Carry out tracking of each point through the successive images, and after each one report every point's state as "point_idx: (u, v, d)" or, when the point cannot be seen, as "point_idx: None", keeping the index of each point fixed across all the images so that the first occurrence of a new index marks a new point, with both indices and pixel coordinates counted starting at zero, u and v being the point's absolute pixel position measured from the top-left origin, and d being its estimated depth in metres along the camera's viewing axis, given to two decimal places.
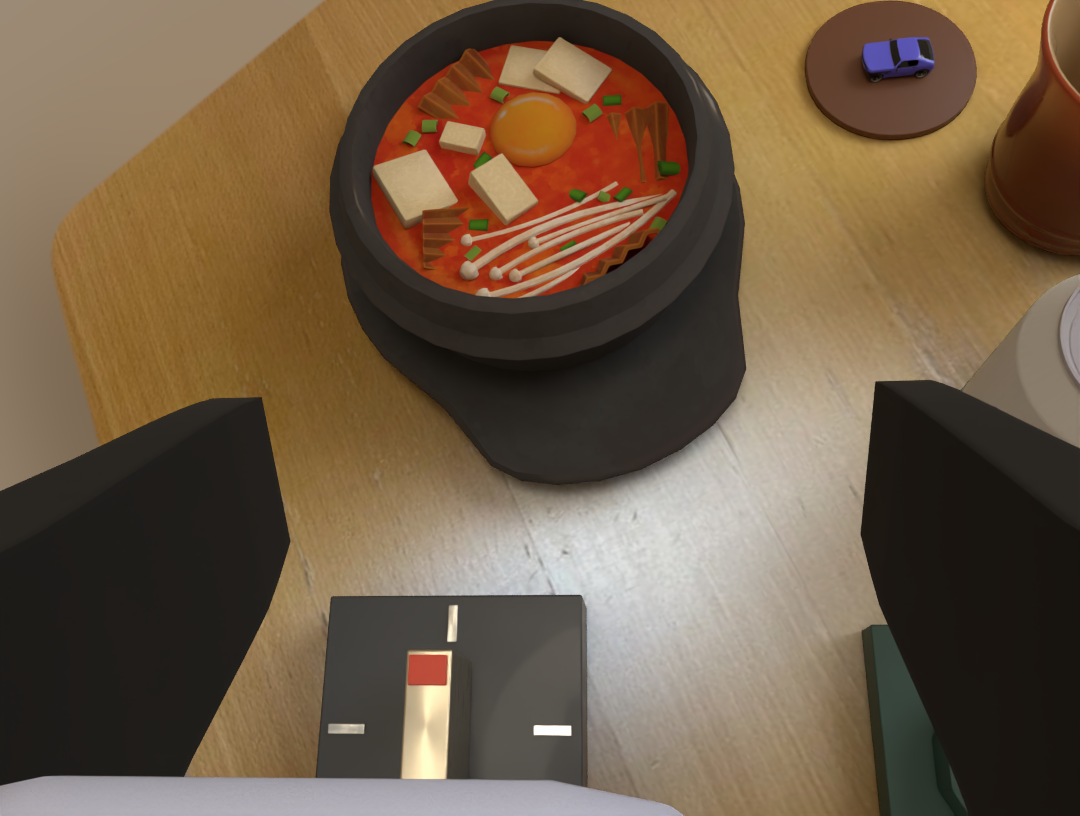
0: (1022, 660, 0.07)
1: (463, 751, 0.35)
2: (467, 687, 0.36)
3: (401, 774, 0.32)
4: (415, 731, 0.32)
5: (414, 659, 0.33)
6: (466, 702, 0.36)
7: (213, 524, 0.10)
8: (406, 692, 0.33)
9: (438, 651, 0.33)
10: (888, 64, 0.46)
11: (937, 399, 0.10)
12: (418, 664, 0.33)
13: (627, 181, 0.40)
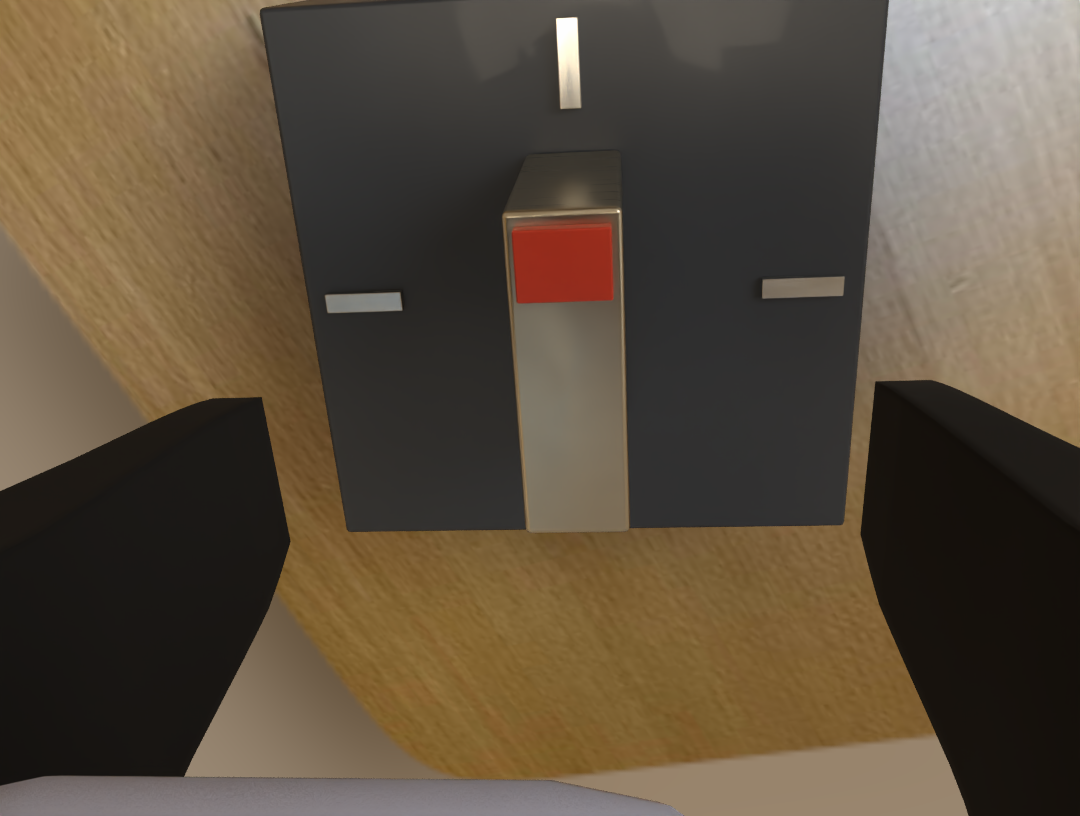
0: (1022, 660, 0.07)
1: None
2: None
3: (524, 479, 0.14)
4: (547, 398, 0.14)
5: (525, 240, 0.13)
6: None
7: (213, 524, 0.10)
8: (513, 314, 0.13)
9: (585, 213, 0.13)
10: None
11: (937, 399, 0.10)
12: (540, 255, 0.13)
13: None
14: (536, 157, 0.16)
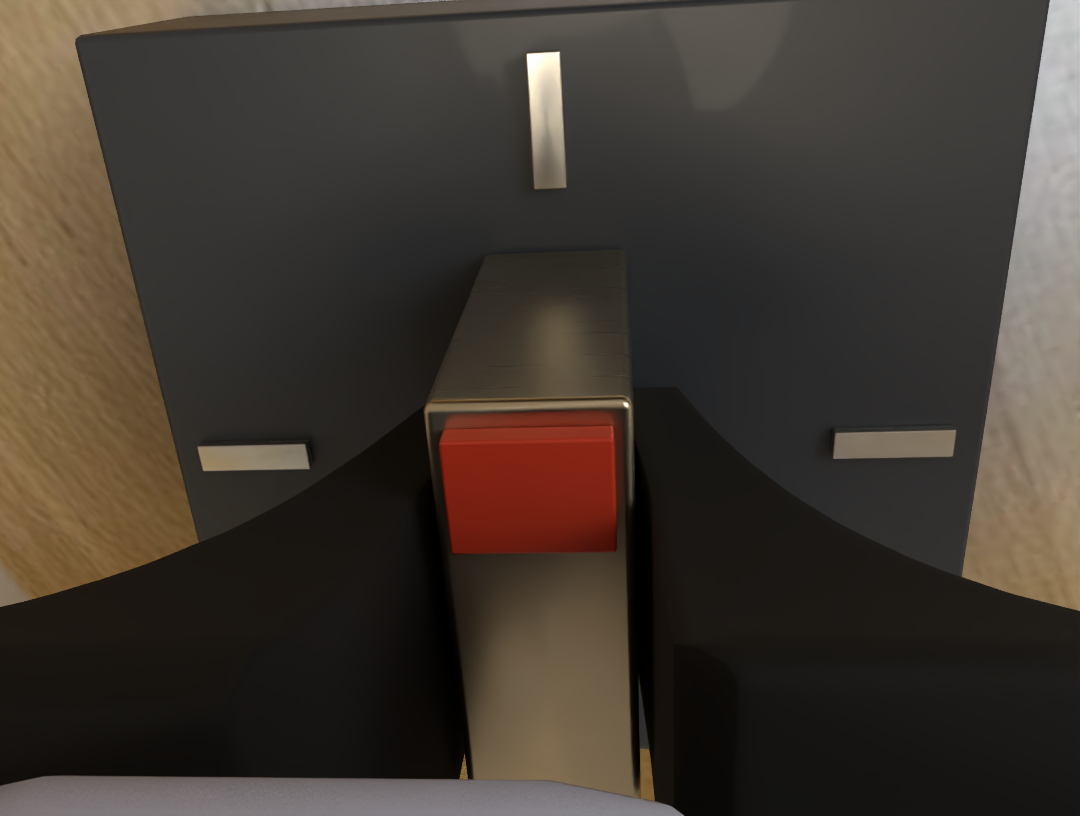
0: (655, 661, 0.08)
1: None
2: None
3: None
4: (507, 684, 0.08)
5: (464, 454, 0.07)
6: None
7: None
8: (448, 560, 0.08)
9: (568, 409, 0.07)
10: None
11: (654, 406, 0.10)
12: (489, 480, 0.07)
13: None
14: (499, 261, 0.11)
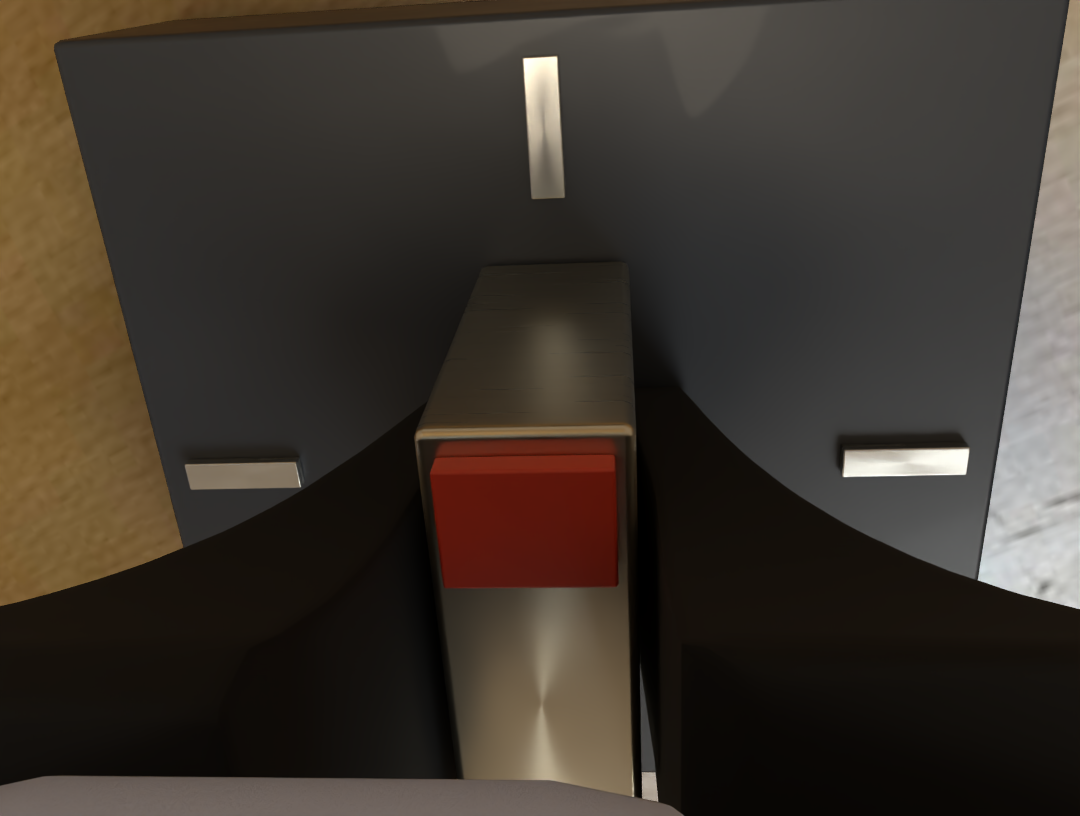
0: (660, 661, 0.08)
1: None
2: None
3: None
4: (503, 721, 0.08)
5: (457, 484, 0.07)
6: None
7: None
8: (441, 593, 0.08)
9: (567, 437, 0.07)
10: None
11: (657, 406, 0.10)
12: (482, 512, 0.07)
13: None
14: (496, 274, 0.10)
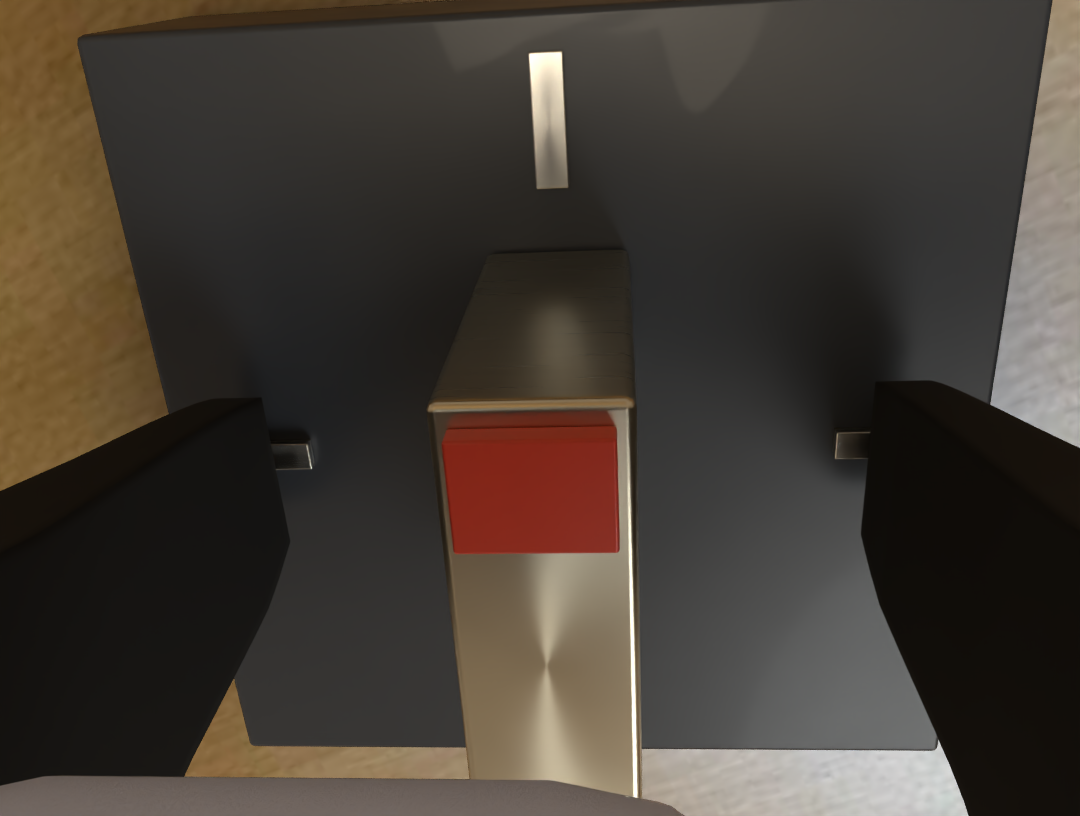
0: (1022, 661, 0.07)
1: None
2: None
3: None
4: (510, 684, 0.08)
5: (467, 454, 0.07)
6: None
7: (213, 524, 0.10)
8: (451, 560, 0.08)
9: (572, 409, 0.07)
10: None
11: (937, 399, 0.10)
12: (491, 480, 0.07)
13: None
14: (501, 261, 0.11)
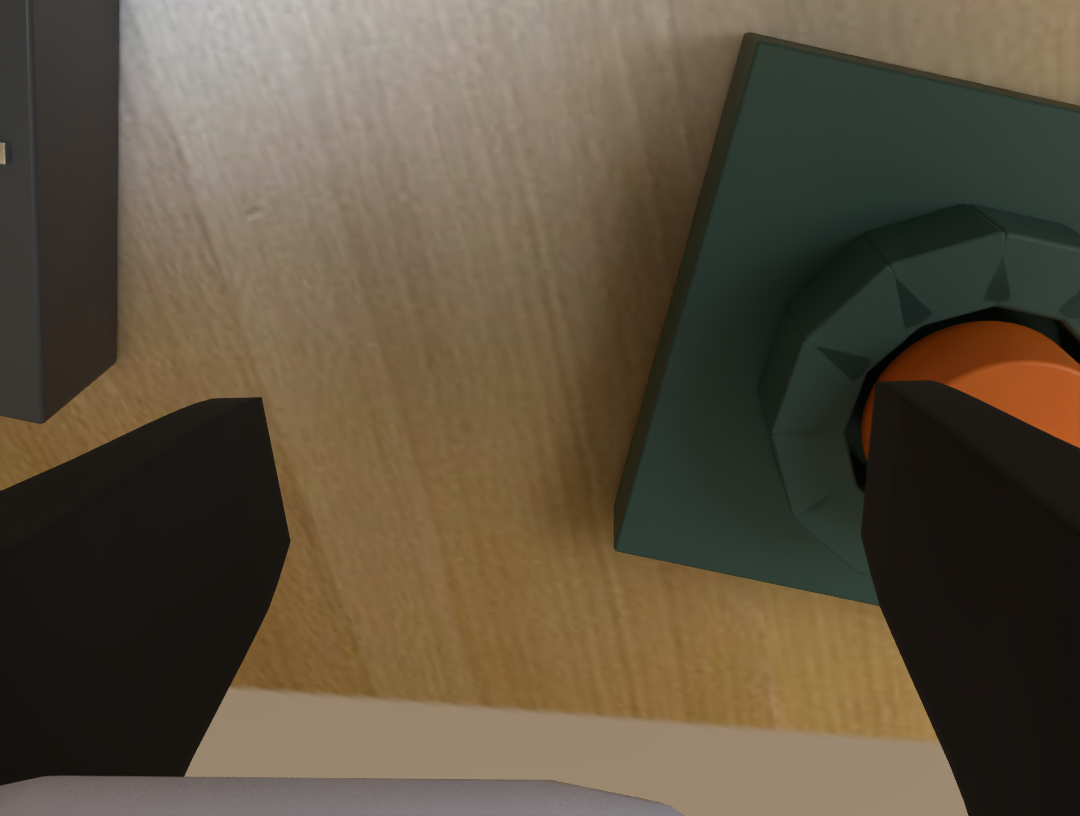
0: (1022, 660, 0.07)
1: None
2: None
3: None
4: None
5: None
6: None
7: (213, 524, 0.10)
8: None
9: None
10: None
11: (937, 399, 0.10)
12: None
13: None
14: None
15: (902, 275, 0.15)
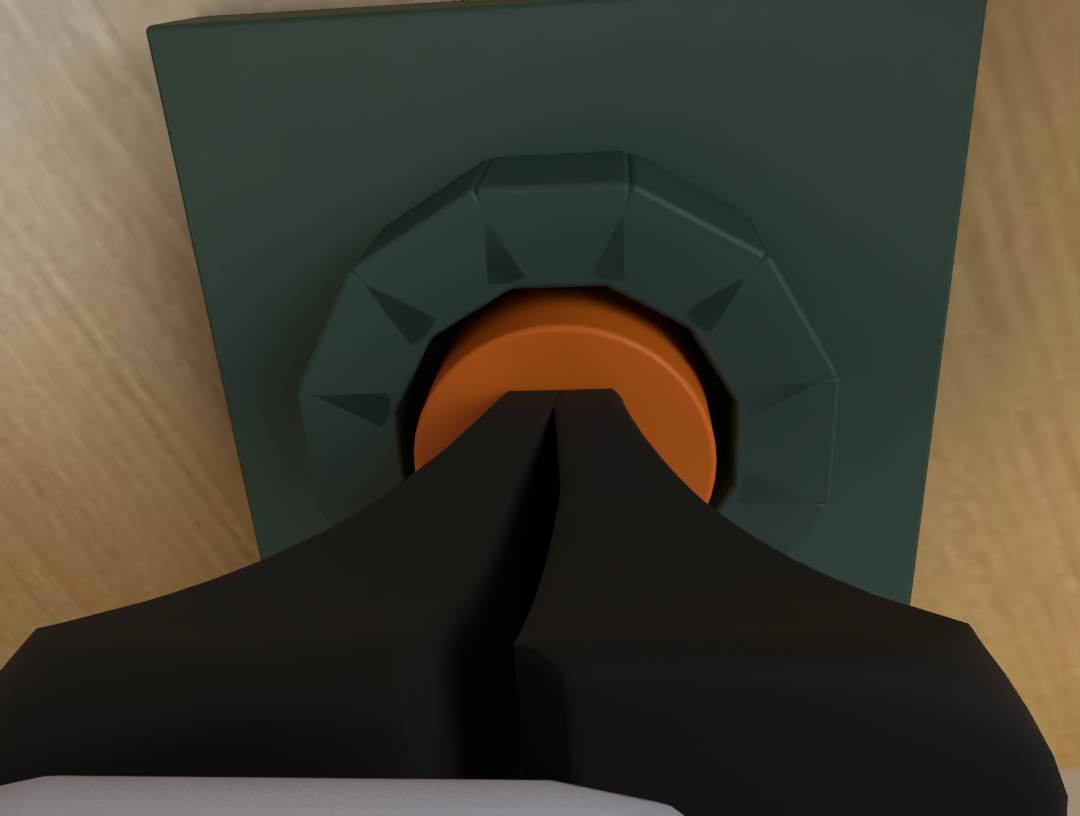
0: None
1: None
2: None
3: None
4: None
5: None
6: None
7: (548, 519, 0.10)
8: None
9: None
10: None
11: (583, 408, 0.10)
12: None
13: None
14: None
15: (372, 280, 0.11)
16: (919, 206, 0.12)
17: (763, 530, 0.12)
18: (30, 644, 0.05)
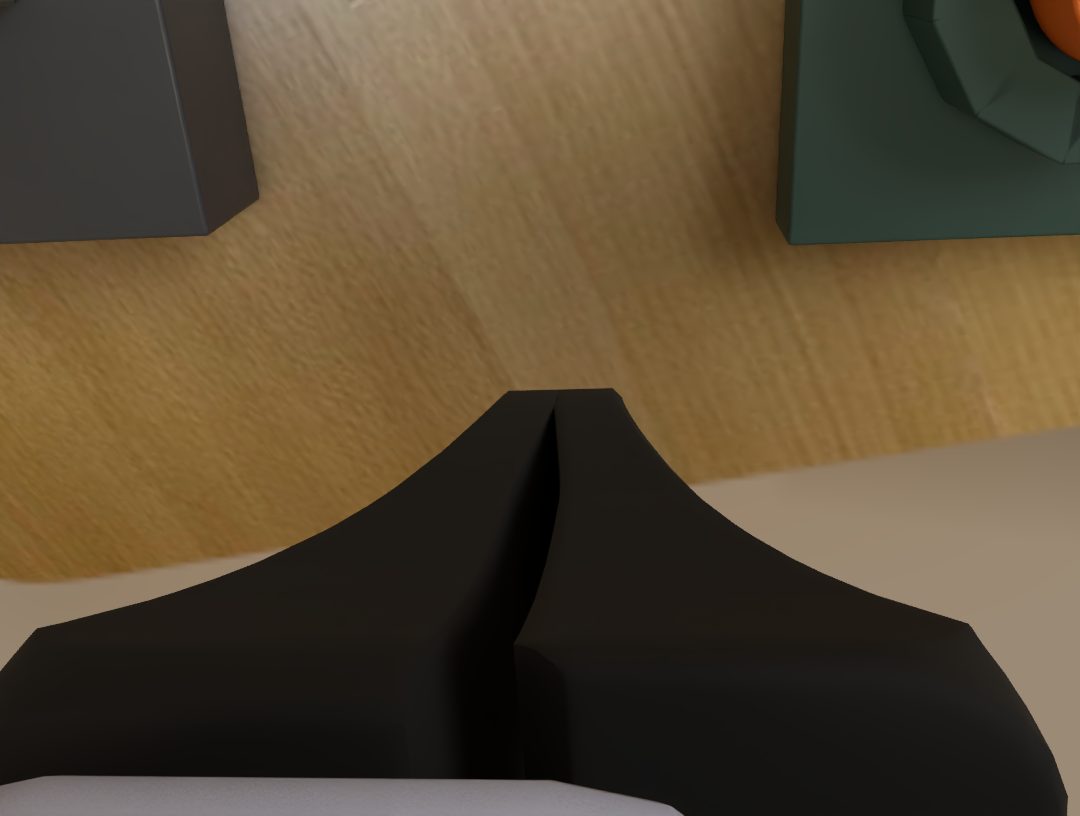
0: None
1: None
2: None
3: None
4: None
5: None
6: None
7: (548, 519, 0.10)
8: None
9: None
10: None
11: (584, 408, 0.10)
12: None
13: None
14: None
15: None
16: None
17: None
18: (31, 645, 0.05)
